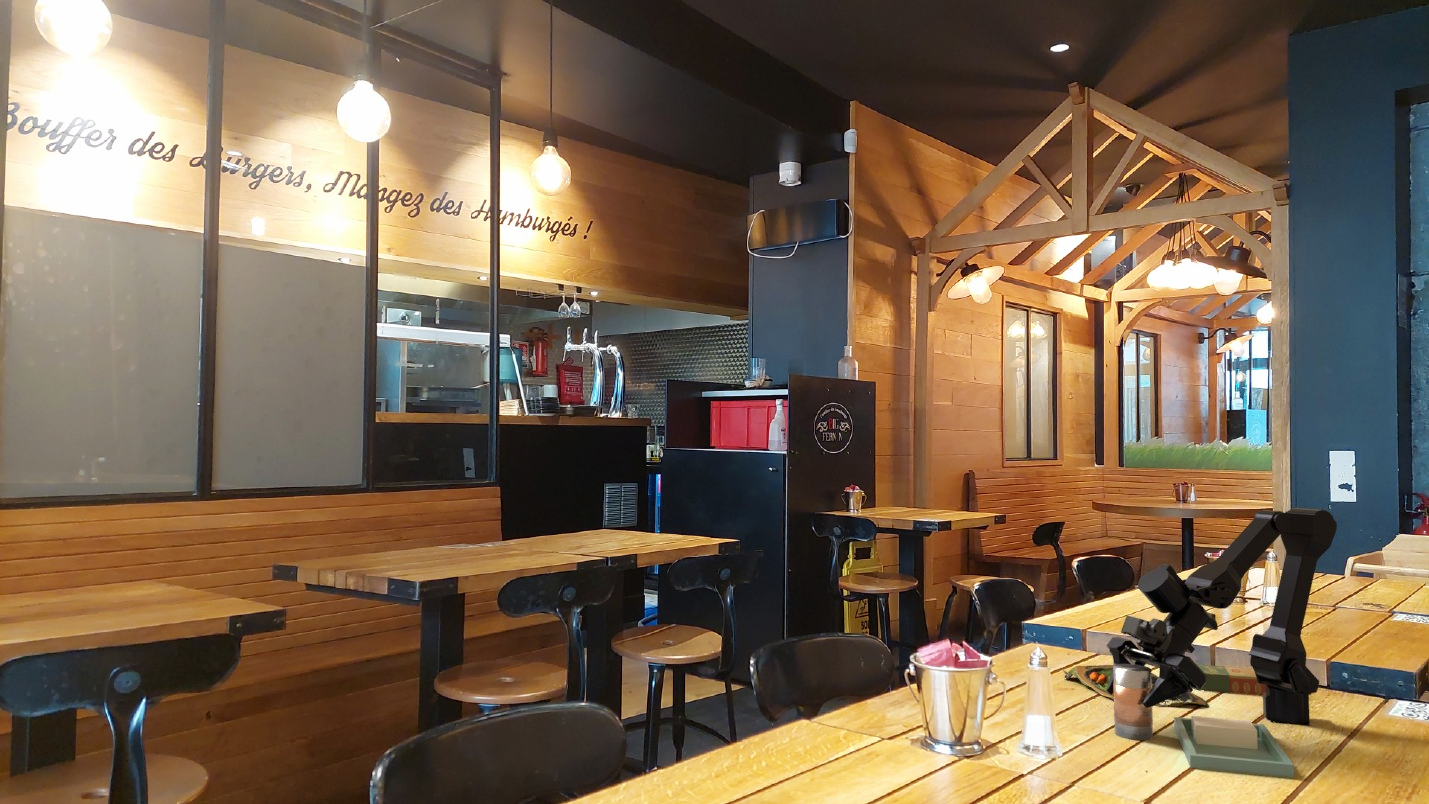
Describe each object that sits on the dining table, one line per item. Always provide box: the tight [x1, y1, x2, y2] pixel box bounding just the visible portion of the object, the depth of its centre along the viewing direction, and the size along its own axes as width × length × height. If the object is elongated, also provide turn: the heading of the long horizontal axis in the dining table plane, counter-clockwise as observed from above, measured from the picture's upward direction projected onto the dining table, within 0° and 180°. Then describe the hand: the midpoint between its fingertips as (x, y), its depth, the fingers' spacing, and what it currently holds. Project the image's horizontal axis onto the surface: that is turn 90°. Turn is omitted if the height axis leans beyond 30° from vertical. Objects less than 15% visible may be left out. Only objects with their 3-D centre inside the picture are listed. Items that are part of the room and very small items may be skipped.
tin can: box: [1113, 664, 1154, 741], centre depth 165 cm, size 6×6×12 cm
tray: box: [1173, 716, 1295, 779], centre depth 156 cm, size 14×22×2 cm, turn 160°
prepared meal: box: [1062, 664, 1210, 709], centre depth 196 cm, size 28×4×18 cm
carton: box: [1196, 663, 1266, 697], centre depth 197 cm, size 8×16×4 cm, turn 68°
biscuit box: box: [1190, 715, 1258, 749], centre depth 161 cm, size 9×6×3 cm, turn 70°
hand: (1126, 699), depth 164 cm, fingers open, 9 cm apart
